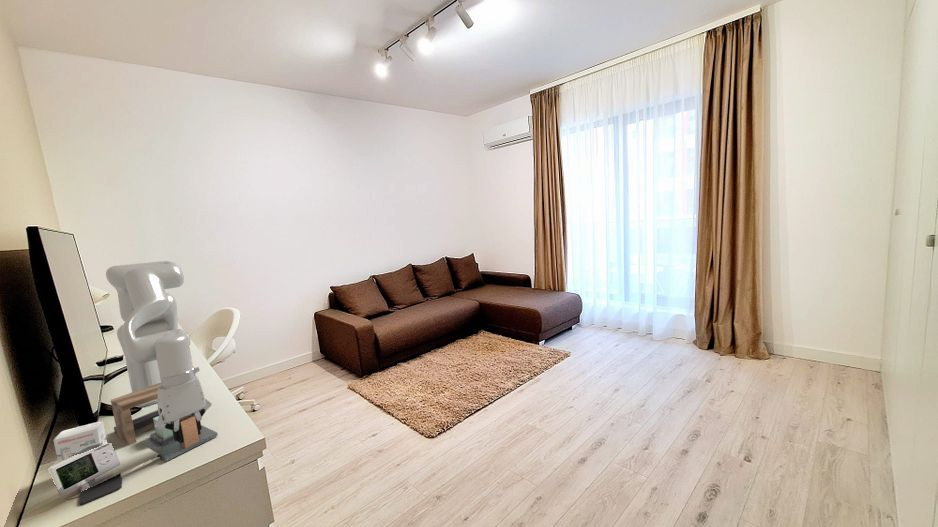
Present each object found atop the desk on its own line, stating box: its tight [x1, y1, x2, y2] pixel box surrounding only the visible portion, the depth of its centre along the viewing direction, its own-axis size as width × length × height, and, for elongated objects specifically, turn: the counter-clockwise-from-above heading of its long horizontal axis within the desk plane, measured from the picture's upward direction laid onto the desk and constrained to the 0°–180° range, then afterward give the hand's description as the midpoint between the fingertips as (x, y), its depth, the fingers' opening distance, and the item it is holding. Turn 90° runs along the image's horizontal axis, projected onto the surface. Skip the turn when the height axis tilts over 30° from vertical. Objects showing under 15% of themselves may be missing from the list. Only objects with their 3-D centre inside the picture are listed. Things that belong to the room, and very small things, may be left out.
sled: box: [140, 414, 219, 462], centre depth 108 cm, size 18×13×9 cm
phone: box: [78, 472, 123, 506], centre depth 92 cm, size 7×1×15 cm
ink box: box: [53, 421, 108, 463], centre depth 98 cm, size 9×5×12 cm, turn 122°
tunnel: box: [110, 383, 162, 446], centre depth 116 cm, size 10×17×14 cm, turn 149°
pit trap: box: [113, 409, 159, 435], centre depth 121 cm, size 4×16×3 cm, turn 149°
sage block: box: [153, 416, 173, 439], centre depth 111 cm, size 6×6×6 cm
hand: (188, 437), depth 105 cm, fingers closed on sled, 3 cm apart
